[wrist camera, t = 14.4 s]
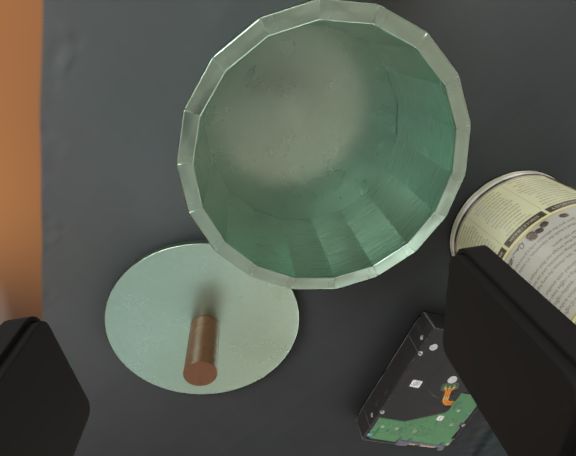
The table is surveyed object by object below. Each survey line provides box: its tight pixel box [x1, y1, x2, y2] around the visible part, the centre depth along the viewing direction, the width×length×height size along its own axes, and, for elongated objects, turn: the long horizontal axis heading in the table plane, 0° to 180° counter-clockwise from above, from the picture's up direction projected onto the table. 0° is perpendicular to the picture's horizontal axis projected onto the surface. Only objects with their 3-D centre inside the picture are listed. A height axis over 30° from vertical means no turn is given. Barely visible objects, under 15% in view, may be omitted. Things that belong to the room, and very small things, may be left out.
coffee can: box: [450, 171, 576, 325], centre depth 26 cm, size 10×10×14 cm
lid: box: [105, 240, 299, 394], centre depth 30 cm, size 16×16×6 cm
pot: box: [177, 0, 471, 289], centre depth 23 cm, size 15×15×8 cm
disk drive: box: [356, 312, 479, 451], centre depth 38 cm, size 10×3×15 cm
